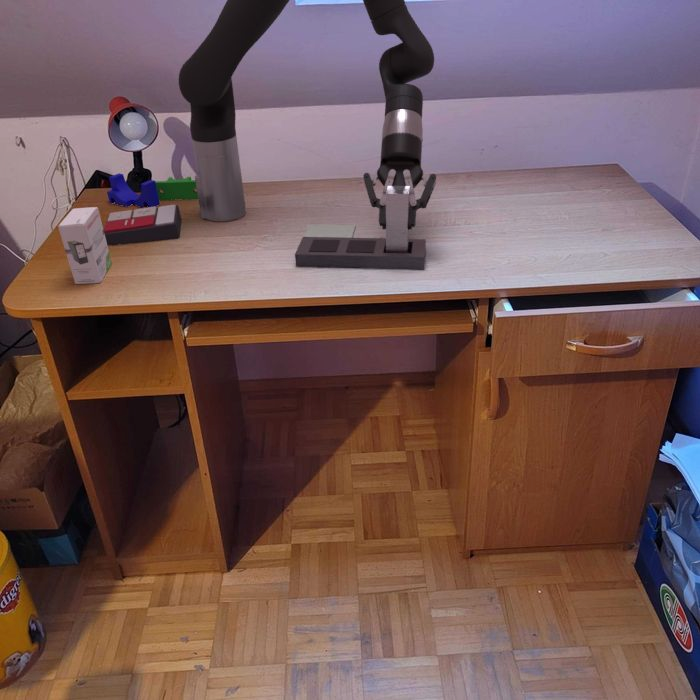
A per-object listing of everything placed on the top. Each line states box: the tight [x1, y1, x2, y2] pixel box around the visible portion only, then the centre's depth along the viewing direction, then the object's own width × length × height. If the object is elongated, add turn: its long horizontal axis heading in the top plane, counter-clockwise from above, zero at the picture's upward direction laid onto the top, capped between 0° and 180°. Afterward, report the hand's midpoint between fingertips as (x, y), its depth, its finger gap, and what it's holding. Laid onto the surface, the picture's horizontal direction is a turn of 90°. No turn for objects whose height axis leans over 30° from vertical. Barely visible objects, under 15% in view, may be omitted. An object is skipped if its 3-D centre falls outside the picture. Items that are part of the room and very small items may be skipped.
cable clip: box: [106, 173, 161, 208], centre depth 155 cm, size 12×4×6 cm, turn 58°
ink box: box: [57, 206, 113, 285], centre depth 124 cm, size 9×5×12 cm, turn 2°
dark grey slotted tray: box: [294, 236, 427, 270], centre depth 127 cm, size 24×8×3 cm, turn 83°
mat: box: [302, 224, 356, 238], centre depth 137 cm, size 10×10×1 cm
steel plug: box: [385, 186, 410, 253], centre depth 123 cm, size 4×4×13 cm
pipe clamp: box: [154, 176, 198, 201], centre depth 159 cm, size 11×4×5 cm, turn 89°
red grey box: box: [103, 204, 182, 246], centre depth 142 cm, size 11×4×15 cm
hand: (397, 227), depth 122 cm, fingers closed on steel plug, 4 cm apart
